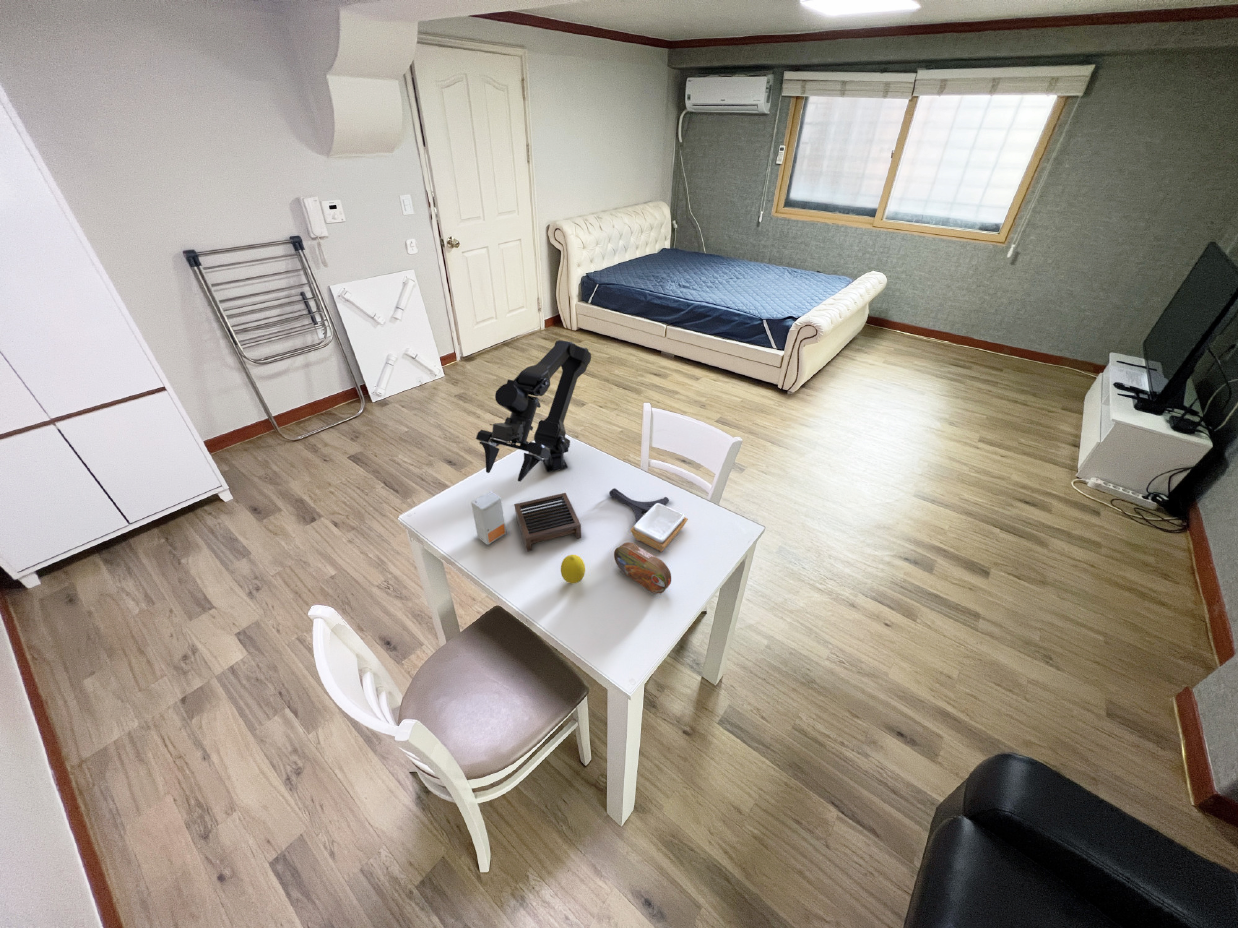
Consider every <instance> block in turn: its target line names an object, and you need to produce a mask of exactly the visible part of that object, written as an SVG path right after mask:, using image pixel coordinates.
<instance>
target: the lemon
mask: <svg viewBox="0 0 1238 928" xmlns="http://www.w3.org/2000/svg"><path fill="white" fill-rule="evenodd" d="M560 574H561V577H562V579H563V580H564V581H565V582H566V583H568V584H572V585H573V584H577V583H579V582H581V581H582V580H583V578H584V577H585V574H586V565H585V562H584V560H583V559H582V557H581V556H579V555H577V554H568V555H567V556H565V557H564V558H563V560H562V562H561V563H560Z"/></svg>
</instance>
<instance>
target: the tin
mask: <svg viewBox="0 0 1238 928" xmlns="http://www.w3.org/2000/svg"><path fill="white" fill-rule="evenodd" d="M613 553H614V554H613V557H614V562H615V564H616V567H618V569H619V571H621V572H622V574H623V575H625V576H626V577H628V578H630V580H633V581H634V582H636V583H637V584H639V586H642V587H643V588H645V589H646V590H647V591H649V592H651V593H654V594H657V595H658V594H662V593H664V592H665V591H666V590H667V589H668V588H669V586H670V585H671V584H672V573H671V570H670V568H669V567H668V565H667V564H666V563H665V562H664V561H663V560H662V559H660V558H659V557H658V556H655V555H654V554H652V553H650V552H649V551H647V550H645V549H644V548H642V547H640V546H639V545H637V544H636V543H633V542H629V541H628V542H624V543H622V544H621V545H619V546H618V547H616V548H615V550H614V551H613Z"/></svg>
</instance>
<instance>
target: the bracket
mask: <svg viewBox="0 0 1238 928" xmlns="http://www.w3.org/2000/svg"><path fill="white" fill-rule="evenodd" d="M608 493H609V497H610V498H612V499H614V500H616V501H618V502H620V503H622V504H624V505H626V506H628V507H630V508H631V509H632V511H633V513H634V516H635V517H634V518H635V521H634V525H635V524H636V523H637V522H638V521H639V520H640V519H641V518H642V517H643V516H644V515H645V514H646V513H647V512H648V511H649V510H650V509H651V508H652V507H653V506H654V505H655V504H656V503H659V504H662V505H664V506H666V505H667V504H668V503H669V498H668V497H667V496H665V497H663V498H660V499H657V500H651V501H641V500H635V499H631V498H629V497H628V496H627V495H626V494H624V493H622V492H621V491H619V490H618V489H617V488H615V487H614V488H612V489H610V491H609V492H608Z"/></svg>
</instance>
